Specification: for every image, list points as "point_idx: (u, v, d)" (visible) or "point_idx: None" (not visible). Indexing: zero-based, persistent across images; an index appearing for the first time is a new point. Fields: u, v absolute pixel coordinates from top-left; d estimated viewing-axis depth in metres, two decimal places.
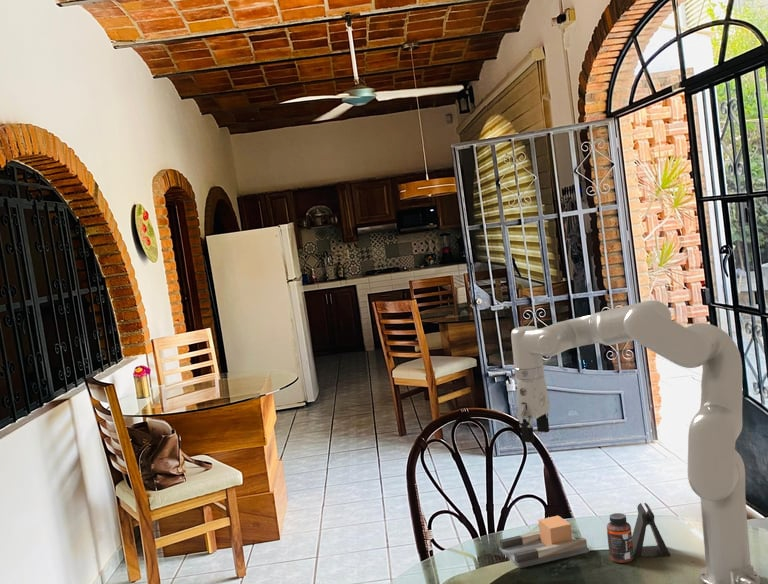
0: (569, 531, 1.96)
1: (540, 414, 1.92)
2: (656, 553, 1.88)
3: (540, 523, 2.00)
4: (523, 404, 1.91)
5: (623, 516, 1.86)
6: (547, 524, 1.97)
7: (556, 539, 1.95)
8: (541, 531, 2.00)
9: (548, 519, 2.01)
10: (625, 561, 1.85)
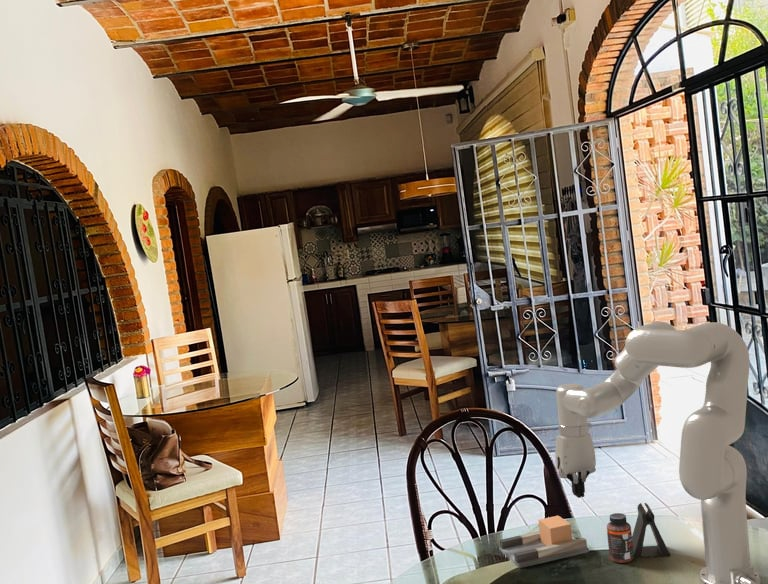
0: (569, 531, 1.96)
1: None
2: (656, 553, 1.88)
3: (540, 523, 2.00)
4: None
5: (623, 516, 1.86)
6: (547, 524, 1.97)
7: (556, 539, 1.95)
8: (541, 531, 2.00)
9: (548, 519, 2.01)
10: (625, 561, 1.85)
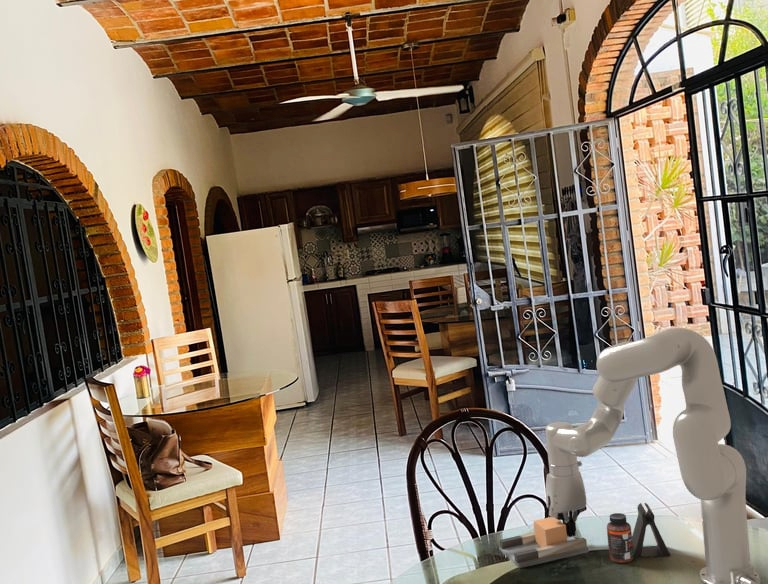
0: (564, 532, 1.95)
1: None
2: (656, 553, 1.88)
3: (535, 524, 2.00)
4: None
5: (623, 516, 1.86)
6: (542, 525, 1.97)
7: (551, 540, 1.94)
8: (536, 532, 2.00)
9: (544, 520, 2.00)
10: (625, 561, 1.85)
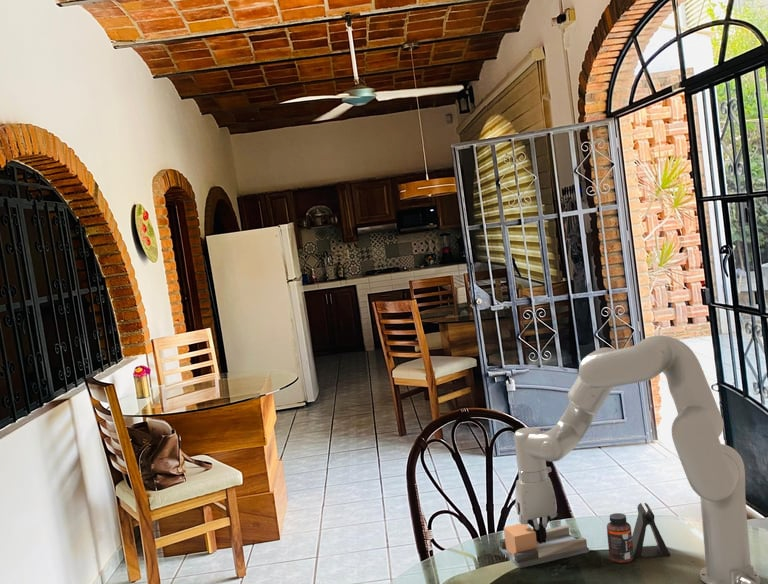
0: (534, 539, 1.93)
1: None
2: (656, 553, 1.88)
3: (505, 531, 1.97)
4: None
5: (623, 516, 1.86)
6: (512, 532, 1.95)
7: (520, 547, 1.92)
8: (506, 539, 1.98)
9: (514, 526, 1.98)
10: (625, 561, 1.85)
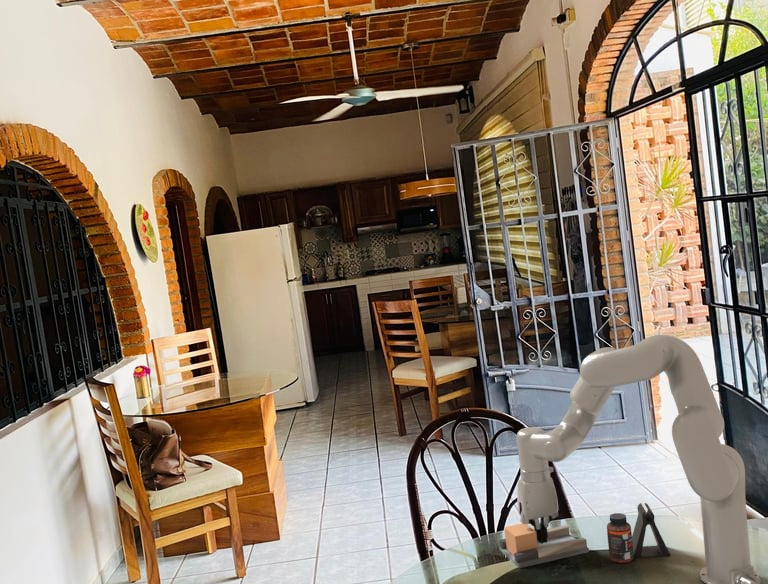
0: (534, 539, 1.93)
1: None
2: (656, 553, 1.88)
3: (506, 531, 1.97)
4: None
5: (623, 516, 1.86)
6: (513, 532, 1.95)
7: (521, 546, 1.92)
8: (506, 539, 1.98)
9: (515, 526, 1.98)
10: (625, 561, 1.85)
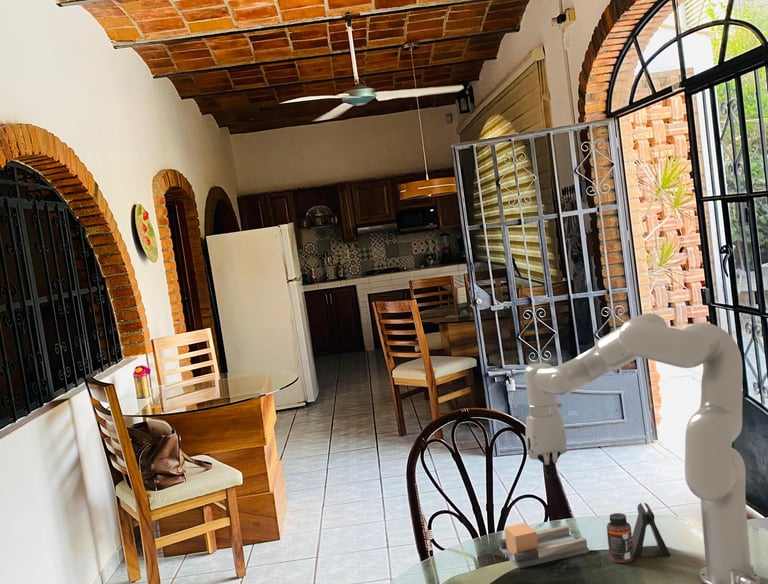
0: (534, 539, 1.93)
1: None
2: (656, 553, 1.88)
3: (506, 531, 1.97)
4: None
5: (623, 516, 1.86)
6: (513, 532, 1.95)
7: (521, 546, 1.92)
8: (506, 539, 1.98)
9: (515, 526, 1.98)
10: (625, 561, 1.85)
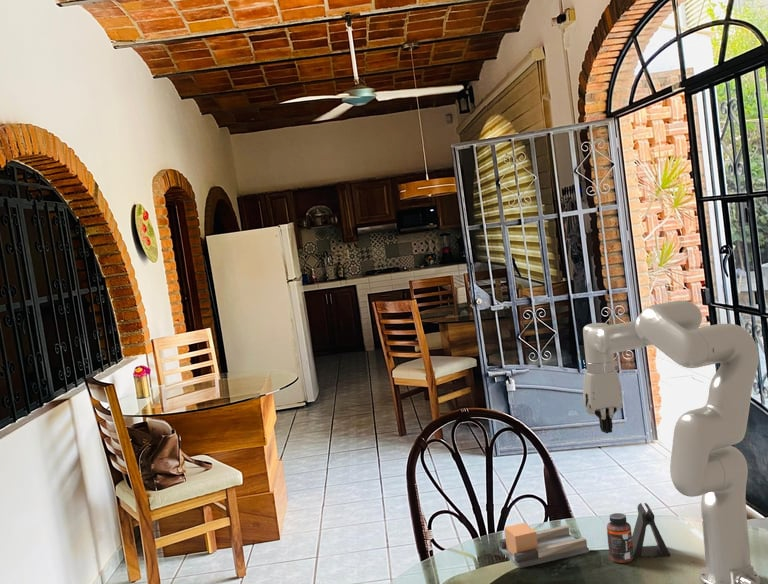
0: (534, 539, 1.93)
1: None
2: (656, 553, 1.88)
3: (506, 531, 1.97)
4: None
5: (623, 516, 1.86)
6: (513, 532, 1.95)
7: (521, 546, 1.92)
8: (506, 539, 1.98)
9: (515, 526, 1.98)
10: (625, 561, 1.85)
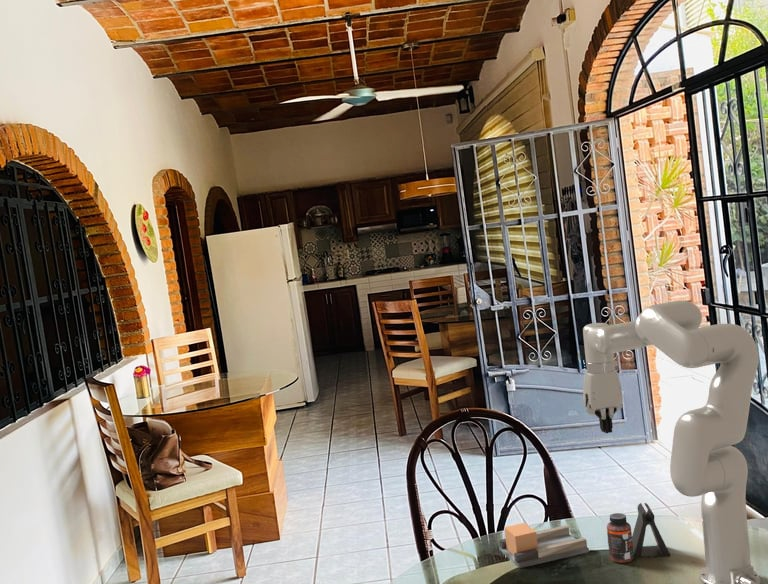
0: (534, 539, 1.93)
1: None
2: (656, 553, 1.88)
3: (506, 531, 1.97)
4: None
5: (623, 516, 1.86)
6: (513, 532, 1.95)
7: (521, 546, 1.92)
8: (506, 539, 1.98)
9: (515, 526, 1.98)
10: (625, 561, 1.85)
